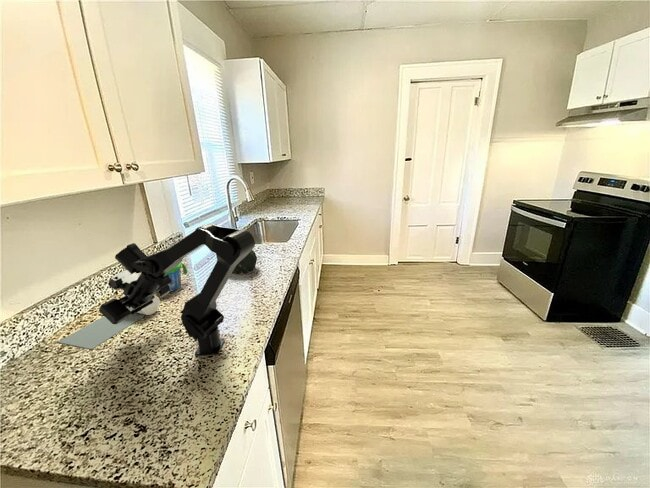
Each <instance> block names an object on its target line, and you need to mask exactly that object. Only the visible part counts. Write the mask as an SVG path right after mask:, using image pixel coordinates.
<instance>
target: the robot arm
mask: <svg viewBox="0 0 650 488" xmlns="http://www.w3.org/2000/svg"><path fill="white" fill-rule="evenodd" d="M255 245H256V241H255V239H254V236H253V234H252V233H251V232H250V231H248V230H246V229H238V228H235V227H227V226H220V225H217V224H214V223H207V224H204V225H202V226H198V227H197V228H196V229H195V230H194V231H193V232H191V233H190V234H187V235H186V236H185V237H183V238H182V239H181V240H178V241H177V242H175V244H173V245H171V246H170V247H168V248H165V249H163V250H160V251H158V252H155V253H153V254H150V255H147V254H146V253H145V252H143V250H142V249H140V247H139V245H138V244H136V243H135V242H133V243H130V244H127V245H126V247H124V248H123V249H121V250H120V251H119V252H117V253H116V254H115V256H114V259H115V260H116V261H117V262H118V263H119V264H120V265H121V266H122V267H123V268H124V270H122V271H120V272H118V273H115V274H114V275H113V276H112V277H111V278H110V279H109V280H108V287H110V289H113V290H115V291H117V290H123V292H122V294H124V295H125V296H124V297H122V296H121V298H111V299H110V300H108V301H106V302H104V303H101V305H100V306H99V309H98V312H99V313H100V314H102V316H103V317H104V316H105V317H106V318H107V319H108V320H109V321H110V322H111V323H112V324H118V323H120V322H121V321H123V320H125V319H126V318H127V317H128V316H129V315H131V314H138V313H137V312H138V311H140V310H142V309H143V308H145V307H147V306H148V305H150V304H152V303H153V299H154V298H155V296H157V295H158V294H159V298H163V297H165V296H166V295H168V294H169V293H170V292H171V291H170V286H169V285H168V284H170V283H171V282H172V280H171V278H170V277H169V275H167V274H166V272H168V271H170V270H172V269H174V268H176V267H177V266H178V265H179V264H180V263H183V260H184V259H185V257H187V256H189V255H190V254H192V253H193V252H194V251H196V250H198V249H199V248H201V247H203V246H205V247H207V248H208V249H209V251H210V252H212V253H215V255H216V263H215V265H214V266H213V268H212V270H211V272H210V273H209V275H208V278H207V279H206V281H205V283H204V285H203V287H202V288H201V290H200V292H199V293H197V294H196V295H194V296H193V297H191V298H190V299H188V300H187V301H186V302H185V303H184V305H183V308H182V310H180V314H181V315H180V320H181V323H182V325H183V327H184V329H185V331H186V332H187V335H188V336H189V338H193V340H195V341H196V340H197V344H198V347H197V348H196V350H195V352H194V356H210V355H211V356H212V355H213V356H214V355H218V354H220V352H221V349H222V347H223V345H224V343H225V338H224V337H223V338H222V337H220V332H219V325H220V324H221V323H223V322H224V320H225V316H224V315H223V313H221V311H219V310H218V308H217V306H218V305H217V304H218V303H217V299H218V298H219V297H220V294H221V292H222V291H223V289H224V287H225V286H226V285H227V282H228V280H229V278H230V277H231V275H232V272H233V270H234V268H235V267H236V265H237V264H238V263H239V262H240V261H241V260H242V259H243V258H245V257H246V256H247V255H248V254H249V252H250V251H251V250H254V248H255ZM127 295H128V296H127ZM154 295H155V296H154Z"/></svg>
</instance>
